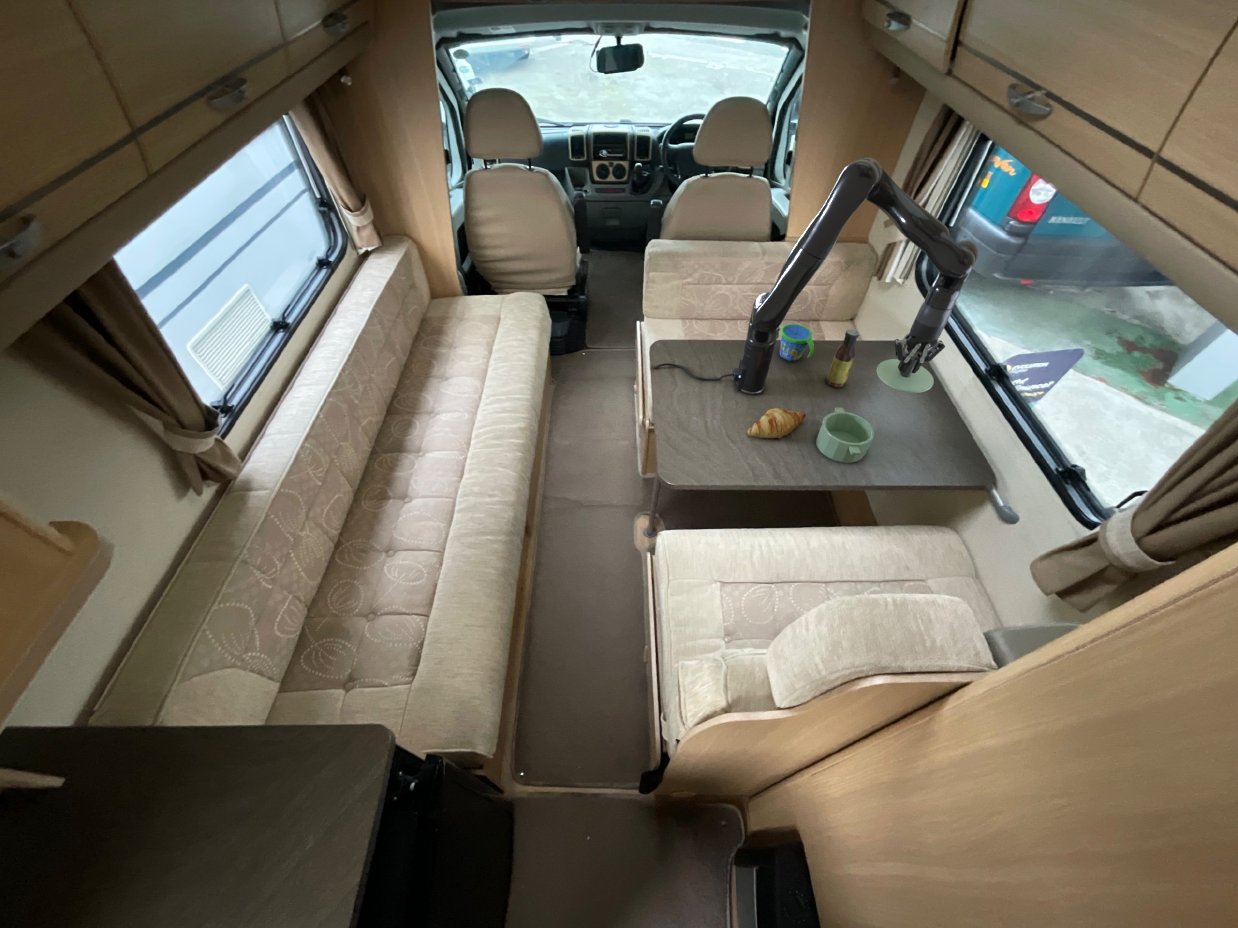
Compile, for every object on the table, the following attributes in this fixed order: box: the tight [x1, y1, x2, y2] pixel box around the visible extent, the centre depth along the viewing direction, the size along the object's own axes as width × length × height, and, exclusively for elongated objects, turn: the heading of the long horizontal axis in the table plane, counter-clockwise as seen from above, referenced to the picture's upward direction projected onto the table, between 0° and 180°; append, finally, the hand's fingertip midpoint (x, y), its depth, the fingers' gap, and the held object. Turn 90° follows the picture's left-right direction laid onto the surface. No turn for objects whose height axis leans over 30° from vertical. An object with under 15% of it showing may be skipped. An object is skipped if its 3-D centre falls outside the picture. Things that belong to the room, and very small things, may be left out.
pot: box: [815, 407, 875, 464], centre depth 168 cm, size 15×20×8 cm
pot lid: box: [876, 354, 935, 394], centre depth 160 cm, size 16×16×7 cm
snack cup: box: [777, 323, 815, 362], centre depth 200 cm, size 16×10×10 cm
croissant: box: [746, 407, 807, 439], centre depth 173 cm, size 21×10×8 cm
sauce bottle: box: [826, 328, 860, 388], centre depth 186 cm, size 7×6×20 cm
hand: (906, 371), depth 161 cm, fingers closed on pot lid, 3 cm apart
